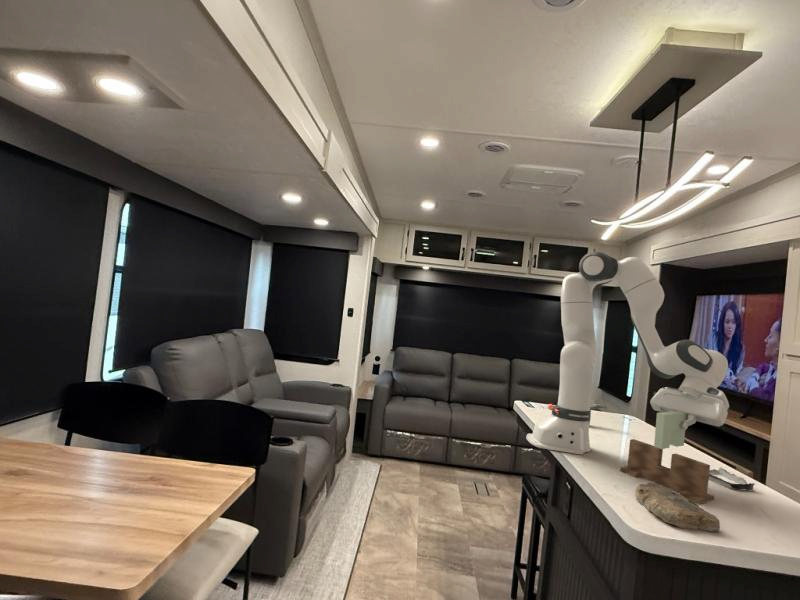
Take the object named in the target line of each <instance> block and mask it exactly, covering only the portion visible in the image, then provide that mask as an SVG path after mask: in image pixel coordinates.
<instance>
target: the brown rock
mask: <svg viewBox="0 0 800 600" xmlns="http://www.w3.org/2000/svg"><path fill="white" fill-rule="evenodd" d="M634 492H635V497H636V498H635V499H636V500H638V503H639V504H640V505H641V506H642V505H643V506H644V507H645V509H646V508H647V509H646V510H647V511H648V512H650V513H651V512H652V514H653V515H655V516H656V517H658V518H659V519H661V520H662V521H663V522H664V523H667V524H670V525H673V526H675V527H677V528H680V529H682V530H688V531H689V530H690V531H698V530H700V531H706V532H711V533H719V532H720V527H721V523H720V520H719V519H718V517H717V516H716V515H714V514H712V513H710V512H708V511H707V510H705V509H704V508H702V507H700V506H699V505H700V504H697V503H695V502H693V501H691V500H689V499H687V498H686V497H684V496H682V495H680V493H679V492H678V493H677V492H676V491H675V490H673V489H670V488H668V487H666V486H663V485H661V484H658V483H656V482H653V483H652V482H647V483H640V484H638V486H636V489H635V490H634ZM643 506H642V507H643ZM644 507H643V508H644Z"/></svg>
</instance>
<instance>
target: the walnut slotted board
mask: <svg viewBox="0 0 800 600" xmlns="http://www.w3.org/2000/svg"><path fill="white" fill-rule="evenodd" d="M663 451H664V449H660V448H657V447H654V444H650V443H646V442H645V441H641V440H639V439H635V438H633V439H630V440H629V449H628V455H627V465H626V466H625V465H624V466H621V467H619V471H620V472H621V471H622V473H624V474H626V473H627V475H629V474H630V475H629V476H631V475H632V476H631V477H633V476H634V478H639V477H641V476H642V478H644V477H645V478H644V479H646V478H647V480H648V481H651V480H652V481H651V482H653V481H654V482H653V483H655V484H659V485H663V486H666V487H667V488H669V489H671V490H672V491H674V492H676V493H677V492H678V493H679V494H680V495H682V496H684V497H686V498H687V499H689V500H691V501H693V502H694V503H696V504H698V505H701V504H705V503H708V502H711V501H714V500H715V495H713V494H711V493H708V490H709V481H710V479H709V472H710V470H711V465H710V464H708V463H705V462H702V461H699V460H696V459H693V458H690V457H687V456H684V455H682V454H679V453H672V454H671V460H670V468H669V467H667V466H664V465H662V461H663V454H664V453H663ZM638 476H639V477H638Z"/></svg>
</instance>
